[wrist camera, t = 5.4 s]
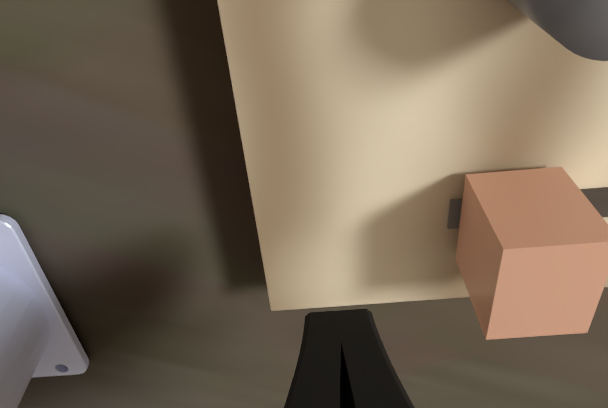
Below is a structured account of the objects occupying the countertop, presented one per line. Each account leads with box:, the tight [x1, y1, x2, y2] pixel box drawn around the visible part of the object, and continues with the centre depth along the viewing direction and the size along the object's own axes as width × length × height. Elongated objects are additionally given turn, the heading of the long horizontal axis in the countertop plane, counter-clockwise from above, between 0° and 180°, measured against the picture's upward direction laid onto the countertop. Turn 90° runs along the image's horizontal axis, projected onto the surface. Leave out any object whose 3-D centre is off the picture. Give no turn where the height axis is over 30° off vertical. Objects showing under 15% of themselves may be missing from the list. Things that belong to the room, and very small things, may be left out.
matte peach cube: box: [455, 167, 608, 340], centre depth 13 cm, size 2×3×3 cm
